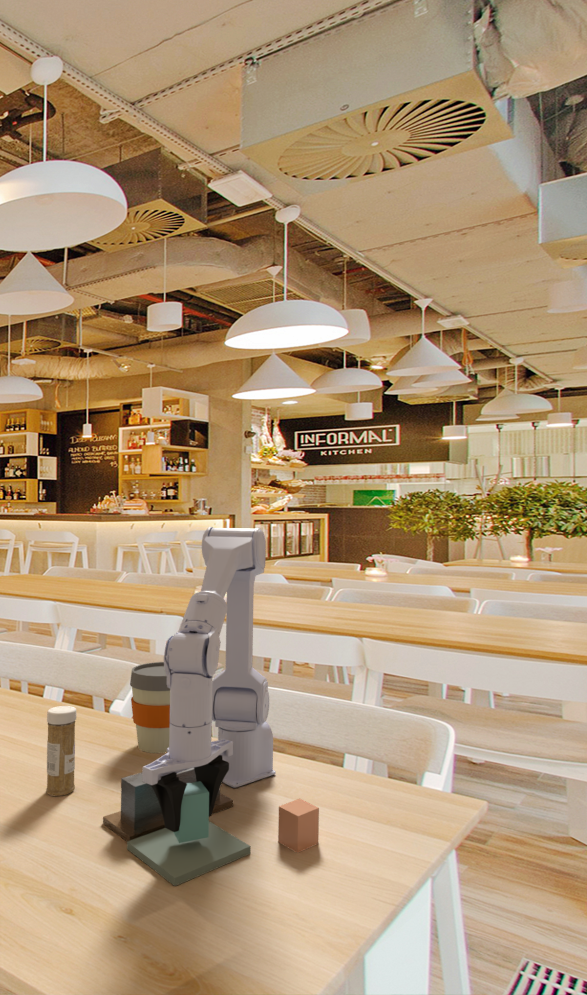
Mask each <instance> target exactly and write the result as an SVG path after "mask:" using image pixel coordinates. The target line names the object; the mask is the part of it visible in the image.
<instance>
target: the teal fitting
mask: <svg viewBox="0 0 587 995" xmlns="http://www.w3.org/2000/svg"><path fill="white" fill-rule="evenodd" d="M209 819H210V816H209V792H208V790H207V789H206V788H205V786H204V785H203V784H202V782H201V781H199V782H193V783H187V786H186V789H185V791H184V795H183V799H182V805H181V819H180V827H179V831H177V832H174V834H175V836H176V838H177V840H178V842H179V843H182V842H187V841H192V840H197V839H202V838H207V837H209V821H210V820H209Z"/></svg>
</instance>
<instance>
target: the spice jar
mask: <svg viewBox="0 0 587 995" xmlns="http://www.w3.org/2000/svg"><path fill="white" fill-rule="evenodd" d="M46 714H47V715H46V723H47V740H46V741H47V745H46V774H47V779H46V788H45V792H46V794H48V795H49V796H53V797H59V796H66V795H68V794H71V793H72V792H74V791H75V788H76V786H75V785H76V784H75V768H76V767H75V766H76V740H75V738H76V737H75V735H76V734H75V733H76V720H77V708H76V707H74V706H72V705H61V706H60V705H58V706H54V707H51V708H49V709H48V710H47V713H46Z"/></svg>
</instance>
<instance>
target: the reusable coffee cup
mask: <svg viewBox="0 0 587 995" xmlns="http://www.w3.org/2000/svg"><path fill="white" fill-rule="evenodd" d="M129 685H130V687H131V691H132V697H130V702H131V711H132V712H131V714H132V720H133V723H134V725H135V730H136V738H137V748H138V749H139V750H140V751H142V752H145V753H150V754H166V753H165V752H167V748H169V732H170V688H168V687H167V675H166V671H165V668H164V661H157V662H154V661H153V662H148V663H147V662H146V663H143V664H138V665H136V666H134V667H132V668H131V674H130V682H129Z"/></svg>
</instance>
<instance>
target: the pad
mask: <svg viewBox="0 0 587 995" xmlns="http://www.w3.org/2000/svg"><path fill="white" fill-rule="evenodd" d="M126 850H127V851H129V852H130V853H132V854H133V855H134V856H135V857H137V858H138V859H139V860H141V861H142V862H143V863H144V864H146V865H147V866H148V867H150V869H152V870H153V871H155V872H156V873H157V874H158V875H160V876H161V877H162V878H164V880H166V881H167V882H169V883H170V884H171V885H173V886H175V887H177V886H178V885H181V884H183V883H186V882H187V881H190V880H192V879H194V878H197V877H199V876H202V875H204V874H207V873H209V872H210V871H213V870H215V869H218V868H220V867H222V866H225V865H227V864H230V863H232V862H234V861H237V860H238V859H242V858H243V857H247V856H248V855H250V854H251V845H250V844H248V843H247V842H245V841H243V840H241V839H240V838H238V837H236V836H235V835H233V834H231V833H230V832H228V831H226V830H225V829H223V828H221V827H220V826H218V825H217V824H215V823H213V822H211V821H210V820H209V837H207V838H202V839H197V840H192V841H187V842H182V843H179V842H178V840H177V838H176V836H175V834H174V832H173V831H171V830H169V829H167V828H164V829H161V830H158V831H155V832H153V833H150V834H147V835H144V836H141V837H139V838H136V839H133V840H130V841H128V842H127V841H126Z"/></svg>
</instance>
